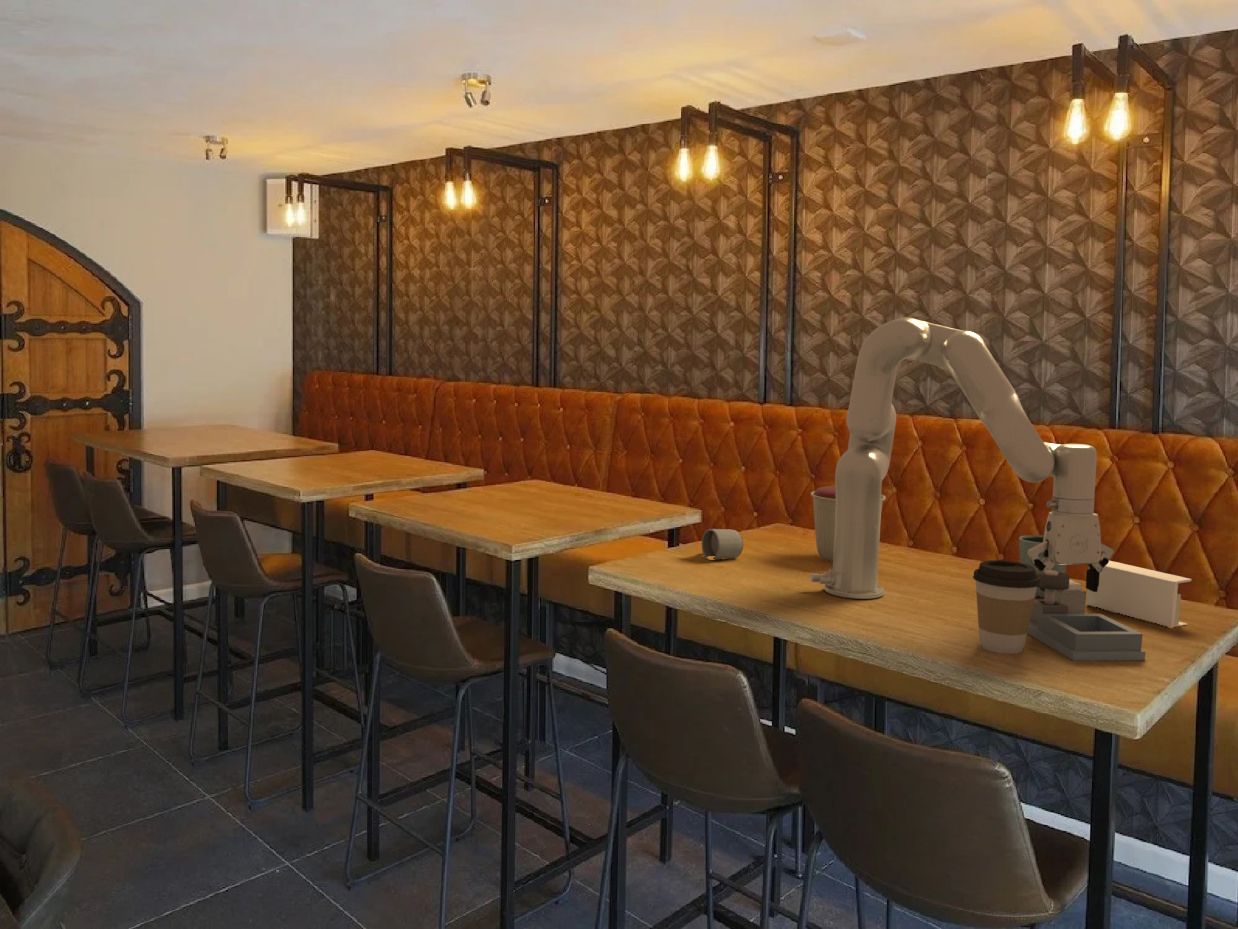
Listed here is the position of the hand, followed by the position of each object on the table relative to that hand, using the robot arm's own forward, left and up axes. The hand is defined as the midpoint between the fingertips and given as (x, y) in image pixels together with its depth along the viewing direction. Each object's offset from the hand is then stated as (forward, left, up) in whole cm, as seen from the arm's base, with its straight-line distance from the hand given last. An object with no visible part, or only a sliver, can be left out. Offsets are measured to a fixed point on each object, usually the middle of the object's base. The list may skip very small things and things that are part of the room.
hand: (1068, 590), depth 202 cm
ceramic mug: (-61, +54, -6) cm, 81 cm away
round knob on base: (-10, -10, 0) cm, 14 cm away
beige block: (-1, 0, -5) cm, 5 cm away
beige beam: (+15, +1, -6) cm, 16 cm away
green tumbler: (+4, +19, -6) cm, 21 cm away
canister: (-30, +51, -6) cm, 59 cm away
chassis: (-8, -17, -5) cm, 19 cm away
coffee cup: (-23, -20, -6) cm, 32 cm away
